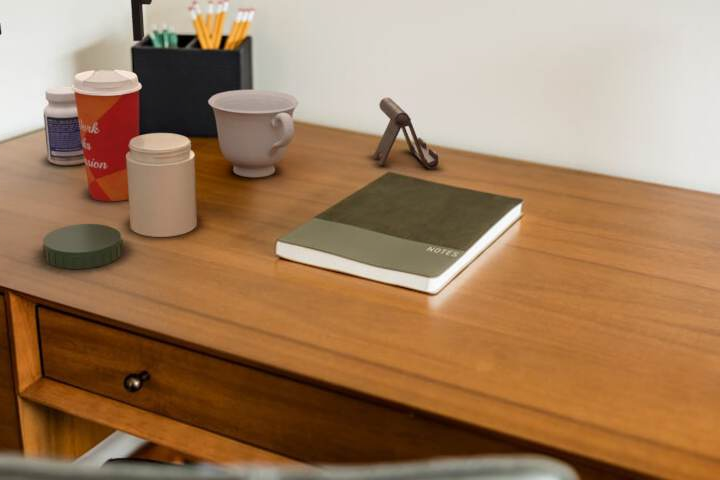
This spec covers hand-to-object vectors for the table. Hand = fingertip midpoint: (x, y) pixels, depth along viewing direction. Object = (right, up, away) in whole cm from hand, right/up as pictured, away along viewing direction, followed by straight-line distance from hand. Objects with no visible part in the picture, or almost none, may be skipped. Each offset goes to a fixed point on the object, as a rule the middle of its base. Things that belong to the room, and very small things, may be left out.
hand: (67, 38), depth 87 cm
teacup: (+15, -11, +36) cm, 40 cm away
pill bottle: (-12, -9, +38) cm, 41 cm away
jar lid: (-1, -20, +8) cm, 21 cm away
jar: (+6, -18, +17) cm, 26 cm away
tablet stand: (+35, -8, +44) cm, 56 cm away
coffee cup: (-3, -14, +27) cm, 30 cm away
